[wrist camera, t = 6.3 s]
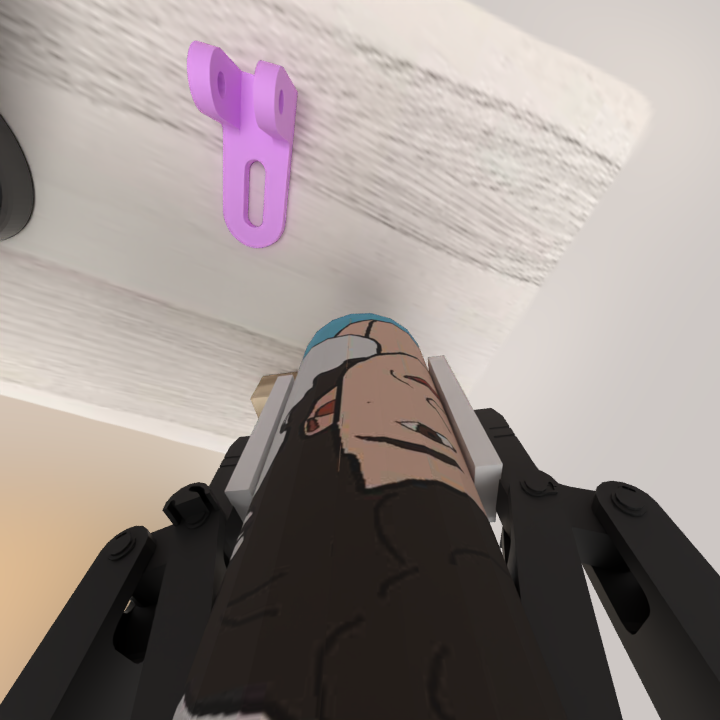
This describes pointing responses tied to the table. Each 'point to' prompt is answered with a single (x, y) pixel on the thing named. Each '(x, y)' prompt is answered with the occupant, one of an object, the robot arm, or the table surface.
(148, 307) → the table surface
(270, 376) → the oak block
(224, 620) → the printed can
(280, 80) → the bracket
